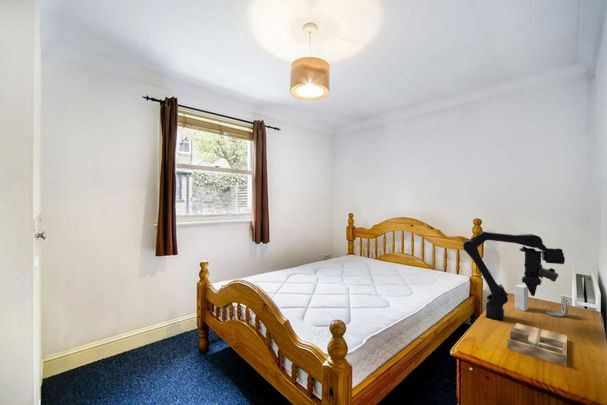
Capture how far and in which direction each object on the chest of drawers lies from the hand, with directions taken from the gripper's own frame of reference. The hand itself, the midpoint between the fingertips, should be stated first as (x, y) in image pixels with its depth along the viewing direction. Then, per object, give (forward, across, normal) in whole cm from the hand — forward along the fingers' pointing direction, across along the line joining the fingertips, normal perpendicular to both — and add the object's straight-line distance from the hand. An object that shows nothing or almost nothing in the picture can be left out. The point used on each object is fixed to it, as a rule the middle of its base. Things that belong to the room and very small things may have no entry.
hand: (532, 295), depth 123 cm
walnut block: (+11, -30, +2) cm, 32 cm away
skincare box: (+13, +20, +6) cm, 25 cm away
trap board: (+13, -22, -3) cm, 26 cm away
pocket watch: (+13, +22, -8) cm, 27 cm away
